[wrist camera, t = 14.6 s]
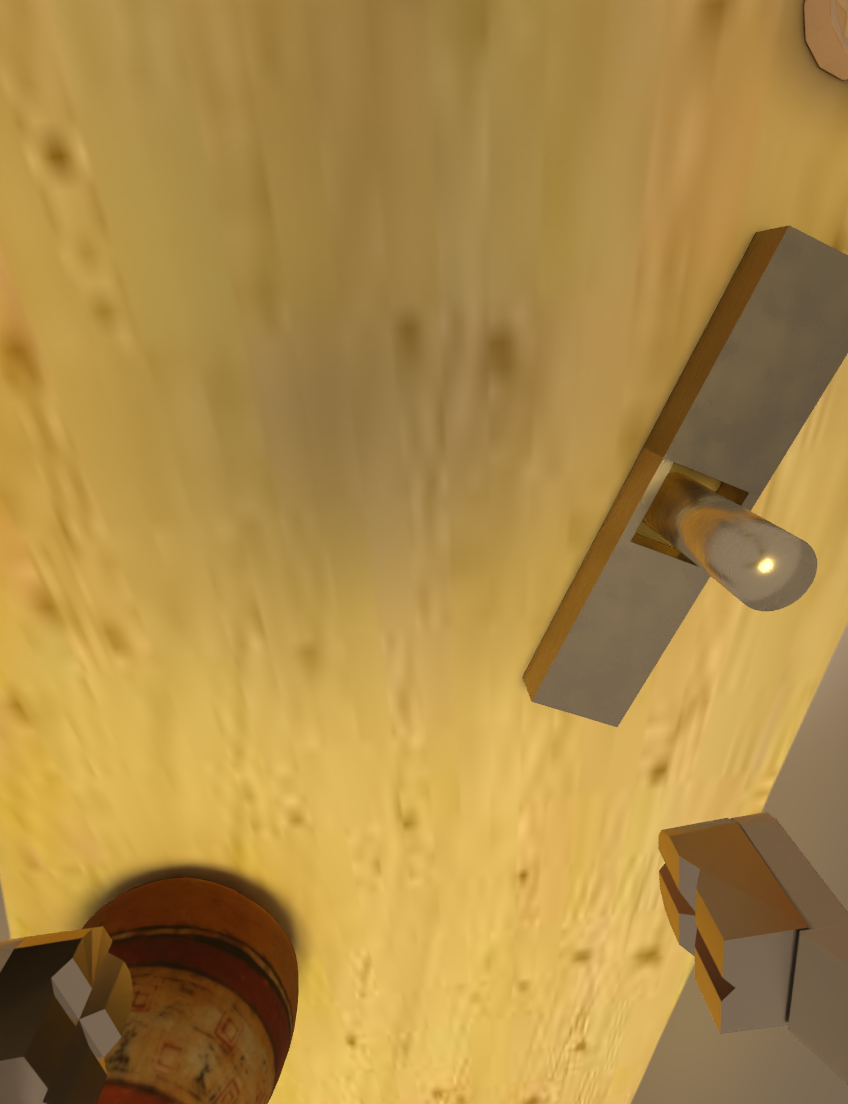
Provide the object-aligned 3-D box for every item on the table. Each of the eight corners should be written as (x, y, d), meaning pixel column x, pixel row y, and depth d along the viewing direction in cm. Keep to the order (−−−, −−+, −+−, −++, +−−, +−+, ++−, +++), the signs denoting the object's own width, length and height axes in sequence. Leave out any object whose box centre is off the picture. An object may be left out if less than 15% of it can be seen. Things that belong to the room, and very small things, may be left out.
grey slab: (756, 232, 34) (789, 225, 31) (853, 281, 35) (893, 279, 32) (522, 677, 45) (531, 701, 42) (603, 701, 46) (617, 727, 43)
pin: (656, 464, 39) (765, 525, 28) (707, 484, 39) (833, 551, 28) (627, 518, 40) (720, 597, 29) (678, 536, 41) (786, 620, 30)
